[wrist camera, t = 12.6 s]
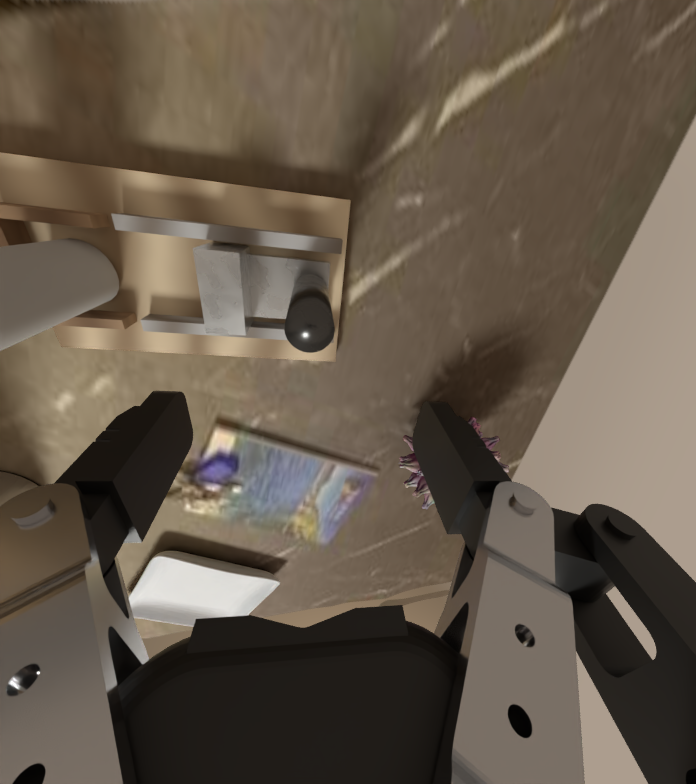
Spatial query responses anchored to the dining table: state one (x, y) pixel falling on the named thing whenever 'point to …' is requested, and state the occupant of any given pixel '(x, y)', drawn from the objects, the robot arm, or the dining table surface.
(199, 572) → the salad plate
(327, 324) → the press block
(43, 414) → the dining table surface
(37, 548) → the robot arm
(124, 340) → the wooden tray
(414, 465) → the flower
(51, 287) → the beverage can
